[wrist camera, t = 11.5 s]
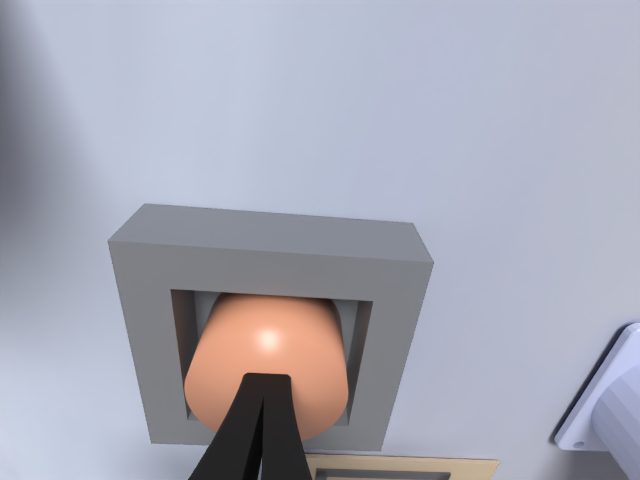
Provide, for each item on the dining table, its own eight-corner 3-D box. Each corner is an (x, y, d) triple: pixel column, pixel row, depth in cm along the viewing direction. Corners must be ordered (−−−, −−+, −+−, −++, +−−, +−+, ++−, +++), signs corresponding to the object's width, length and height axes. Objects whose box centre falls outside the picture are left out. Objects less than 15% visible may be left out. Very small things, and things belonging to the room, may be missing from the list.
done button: (349, 278, 13) (359, 340, 10) (334, 377, 15) (338, 448, 13) (204, 269, 13) (176, 330, 10) (212, 371, 15) (190, 443, 12)
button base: (412, 223, 13) (434, 262, 10) (371, 397, 17) (380, 451, 15) (144, 203, 12) (107, 240, 10) (172, 389, 16) (151, 443, 14)
